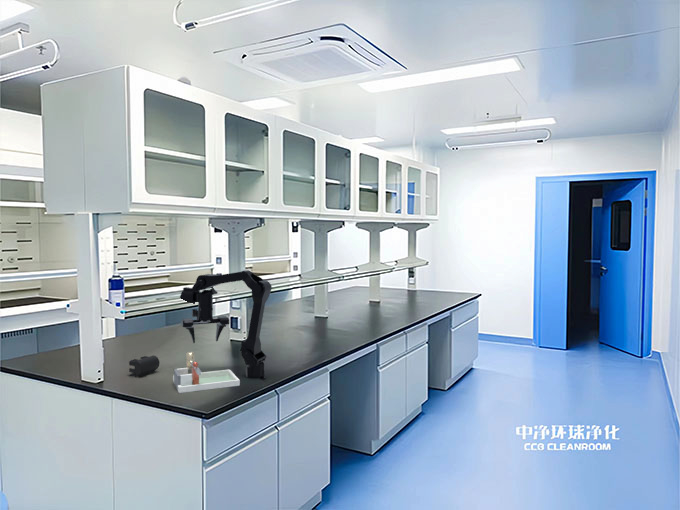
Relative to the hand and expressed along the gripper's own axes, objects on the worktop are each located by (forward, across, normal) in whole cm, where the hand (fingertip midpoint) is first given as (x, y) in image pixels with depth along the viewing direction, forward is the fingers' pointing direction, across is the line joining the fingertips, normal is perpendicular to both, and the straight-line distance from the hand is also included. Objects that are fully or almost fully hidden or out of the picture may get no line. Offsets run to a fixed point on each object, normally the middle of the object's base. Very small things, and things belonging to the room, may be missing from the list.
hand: (205, 342), depth 202 cm
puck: (+12, +10, +17) cm, 23 cm away
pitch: (+13, +3, +17) cm, 22 cm away
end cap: (+13, +23, -9) cm, 28 cm away
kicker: (+12, +7, +15) cm, 20 cm away
